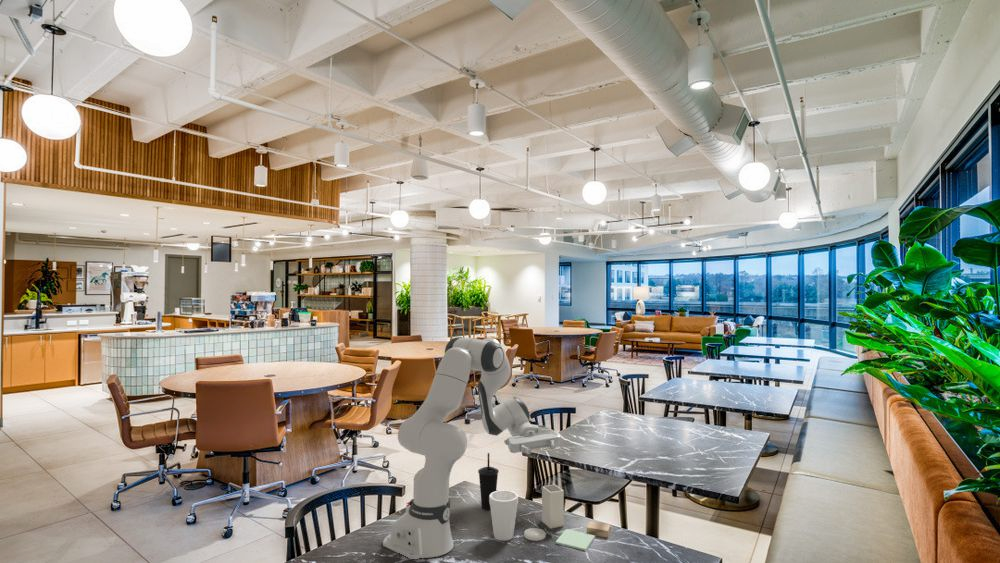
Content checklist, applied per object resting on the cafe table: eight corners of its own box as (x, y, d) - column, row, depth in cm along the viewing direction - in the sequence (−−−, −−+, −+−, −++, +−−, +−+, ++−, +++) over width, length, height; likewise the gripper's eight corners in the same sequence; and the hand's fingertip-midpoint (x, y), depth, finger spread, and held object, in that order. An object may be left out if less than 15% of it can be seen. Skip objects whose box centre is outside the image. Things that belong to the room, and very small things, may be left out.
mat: (555, 543, 159) (555, 541, 159) (566, 530, 167) (566, 528, 167) (585, 551, 154) (585, 549, 154) (595, 537, 163) (595, 535, 163)
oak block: (586, 534, 165) (586, 527, 165) (589, 528, 170) (589, 521, 170) (607, 538, 163) (607, 530, 163) (610, 532, 167) (610, 524, 167)
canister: (542, 521, 175) (542, 486, 175) (555, 518, 177) (555, 484, 177) (550, 528, 169) (550, 492, 169) (563, 525, 171) (563, 490, 171)
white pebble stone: (520, 538, 162) (520, 535, 162) (529, 529, 169) (529, 526, 169) (540, 543, 159) (540, 539, 159) (548, 534, 165) (548, 530, 166)
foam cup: (514, 544, 158) (515, 502, 159) (486, 541, 160) (486, 500, 160) (519, 530, 167) (519, 491, 168) (492, 528, 169) (493, 489, 170)
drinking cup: (489, 501, 191) (490, 449, 192) (502, 508, 185) (502, 453, 186) (473, 507, 186) (474, 452, 187) (486, 513, 180) (486, 457, 181)
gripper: (502, 432, 192) (514, 445, 179) (551, 424, 198) (566, 437, 185) (503, 448, 192) (515, 462, 179) (551, 440, 199) (566, 453, 186)
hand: (541, 449), depth 182 cm, fingers open, 8 cm apart
